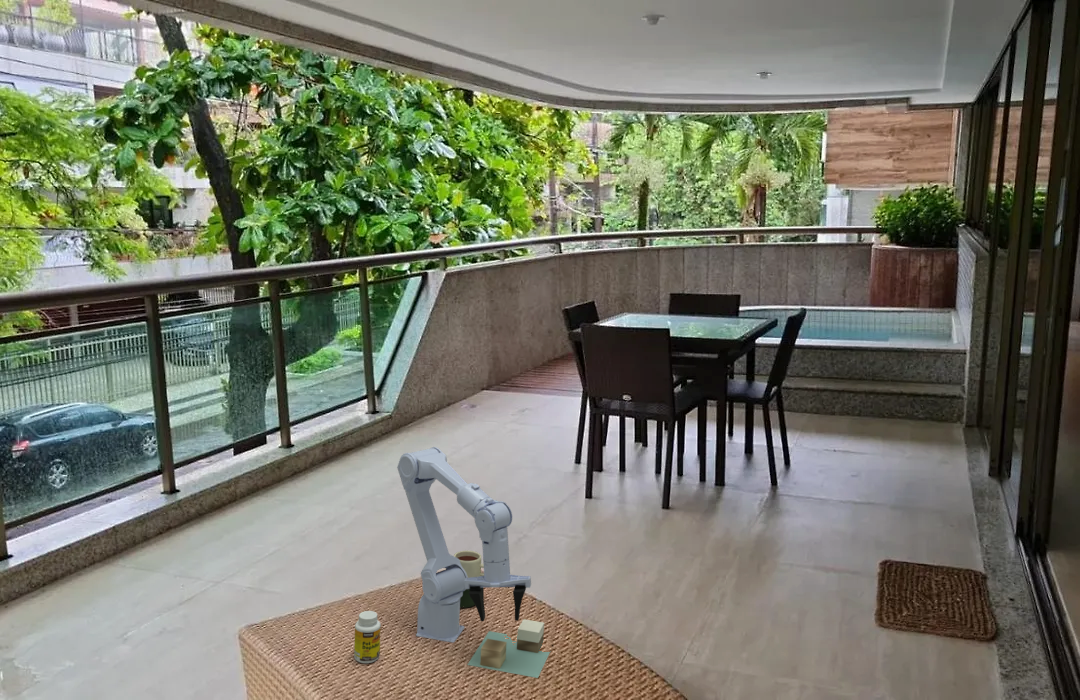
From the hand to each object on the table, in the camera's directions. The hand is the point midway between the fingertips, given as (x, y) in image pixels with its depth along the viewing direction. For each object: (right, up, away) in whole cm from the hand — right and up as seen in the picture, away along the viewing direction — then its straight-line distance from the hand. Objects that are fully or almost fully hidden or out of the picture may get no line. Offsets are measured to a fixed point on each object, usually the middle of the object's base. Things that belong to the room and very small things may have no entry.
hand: (500, 619), depth 186 cm
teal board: (+3, -10, +6) cm, 12 cm away
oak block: (-2, -10, +1) cm, 10 cm away
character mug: (-10, -6, +29) cm, 31 cm away
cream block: (+7, -7, +9) cm, 13 cm away
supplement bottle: (-29, -9, +1) cm, 31 cm away
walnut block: (+7, -9, +9) cm, 14 cm away
